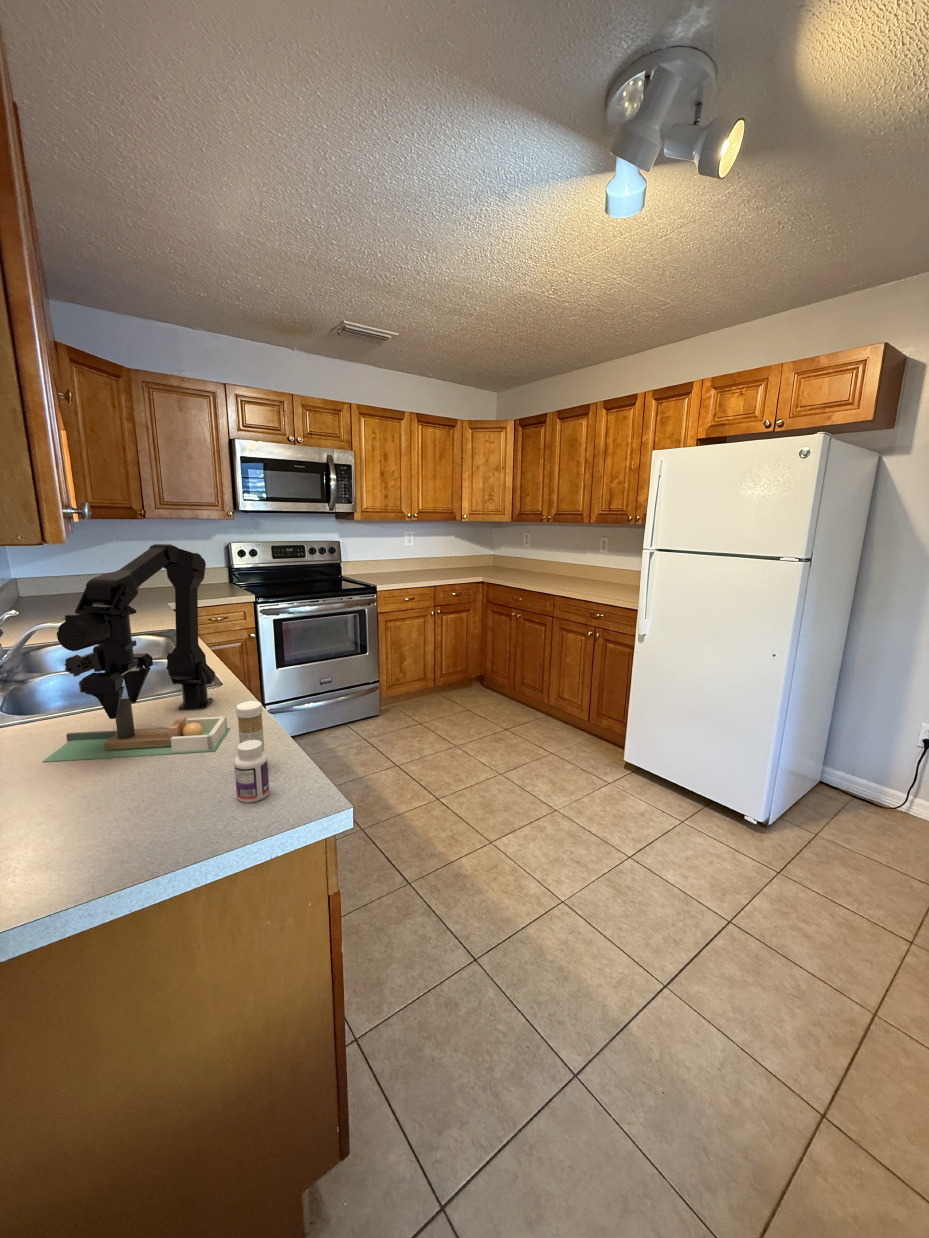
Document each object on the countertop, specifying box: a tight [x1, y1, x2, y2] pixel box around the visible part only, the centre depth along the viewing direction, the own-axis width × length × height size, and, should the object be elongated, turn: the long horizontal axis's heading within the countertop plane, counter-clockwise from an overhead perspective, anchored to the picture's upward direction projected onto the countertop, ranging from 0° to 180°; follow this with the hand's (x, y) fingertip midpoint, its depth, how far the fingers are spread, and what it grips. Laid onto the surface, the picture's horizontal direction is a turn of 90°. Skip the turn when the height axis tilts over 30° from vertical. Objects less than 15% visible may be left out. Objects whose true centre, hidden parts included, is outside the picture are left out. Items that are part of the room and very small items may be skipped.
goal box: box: [171, 716, 228, 752], centre depth 110 cm, size 11×8×3 cm
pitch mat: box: [41, 727, 231, 763], centre depth 108 cm, size 12×32×1 cm, turn 101°
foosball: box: [182, 722, 203, 736], centre depth 110 cm, size 4×4×4 cm
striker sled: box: [104, 698, 188, 750], centre depth 107 cm, size 6×14×10 cm, turn 101°
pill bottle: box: [233, 740, 270, 803], centre depth 88 cm, size 5×5×10 cm
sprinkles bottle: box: [236, 700, 265, 753], centre depth 97 cm, size 5×5×13 cm
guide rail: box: [65, 726, 170, 742], centre depth 111 cm, size 1×24×2 cm, turn 101°
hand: (123, 710), depth 106 cm, fingers open, 9 cm apart
